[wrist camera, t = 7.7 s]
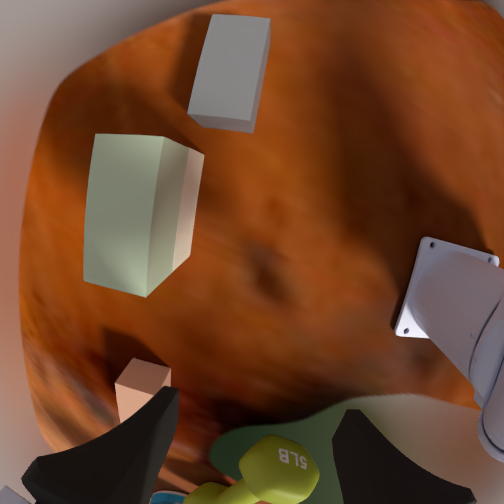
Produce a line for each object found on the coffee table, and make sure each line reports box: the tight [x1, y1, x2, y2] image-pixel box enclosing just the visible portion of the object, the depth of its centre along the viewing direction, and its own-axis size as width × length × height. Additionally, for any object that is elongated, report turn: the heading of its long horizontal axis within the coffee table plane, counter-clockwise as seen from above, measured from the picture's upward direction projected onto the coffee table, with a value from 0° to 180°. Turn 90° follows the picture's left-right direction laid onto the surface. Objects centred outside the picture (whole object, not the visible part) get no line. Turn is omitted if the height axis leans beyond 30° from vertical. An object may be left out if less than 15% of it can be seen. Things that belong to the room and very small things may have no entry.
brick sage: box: [84, 134, 189, 297], centre depth 14 cm, size 4×7×4 cm, turn 170°
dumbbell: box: [183, 434, 319, 504], centre depth 22 cm, size 16×8×7 cm, turn 147°
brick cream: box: [173, 147, 204, 271], centre depth 17 cm, size 4×7×4 cm, turn 170°
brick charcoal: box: [187, 14, 270, 133], centre depth 16 cm, size 4×7×4 cm, turn 170°
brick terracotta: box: [115, 358, 171, 423], centre depth 21 cm, size 4×7×4 cm, turn 170°
